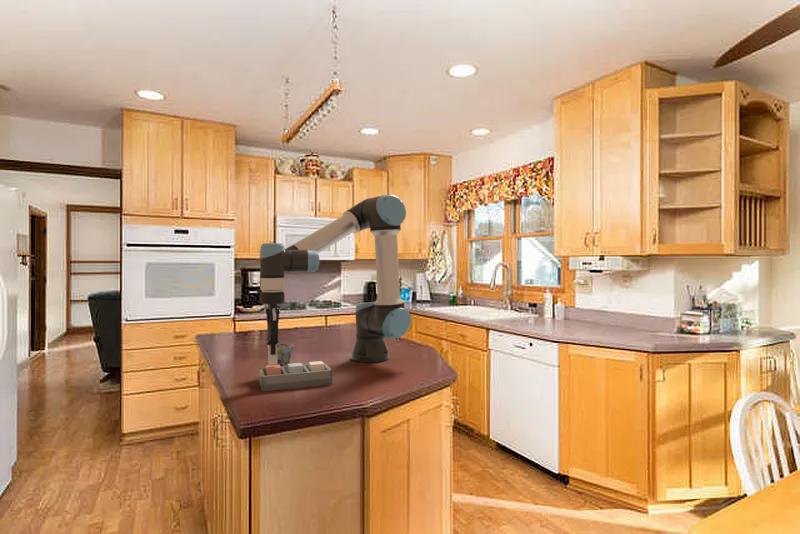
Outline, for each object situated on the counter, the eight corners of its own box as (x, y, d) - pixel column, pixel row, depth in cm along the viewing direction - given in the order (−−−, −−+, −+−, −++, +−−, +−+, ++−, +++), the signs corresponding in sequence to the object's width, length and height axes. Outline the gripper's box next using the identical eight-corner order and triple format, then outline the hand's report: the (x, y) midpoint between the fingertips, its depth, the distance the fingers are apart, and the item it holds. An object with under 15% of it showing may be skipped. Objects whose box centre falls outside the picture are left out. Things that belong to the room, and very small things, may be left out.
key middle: (300, 369, 153) (300, 362, 153) (303, 372, 149) (303, 365, 149) (287, 371, 152) (287, 363, 152) (289, 374, 148) (289, 366, 148)
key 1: (279, 371, 151) (279, 364, 151) (281, 374, 147) (281, 367, 147) (265, 373, 149) (265, 365, 149) (266, 376, 145) (266, 368, 145)
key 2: (321, 368, 156) (321, 361, 156) (324, 370, 152) (324, 363, 152) (308, 369, 154) (308, 362, 154) (311, 372, 150) (311, 364, 150)
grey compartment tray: (324, 375, 160) (324, 362, 160) (332, 384, 149) (332, 370, 149) (259, 381, 152) (258, 368, 152) (262, 391, 141) (261, 376, 141)
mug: (296, 377, 157) (295, 347, 157) (268, 380, 154) (267, 349, 154) (291, 370, 168) (291, 341, 168) (265, 372, 165) (264, 343, 165)
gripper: (258, 290, 152) (259, 361, 152) (261, 292, 140) (262, 369, 140) (281, 289, 155) (282, 359, 155) (286, 292, 143) (287, 367, 143)
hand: (272, 364), depth 148 cm, fingers closed
